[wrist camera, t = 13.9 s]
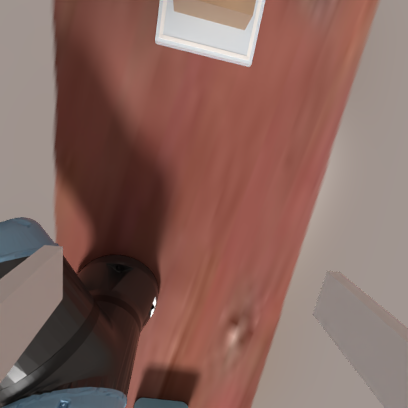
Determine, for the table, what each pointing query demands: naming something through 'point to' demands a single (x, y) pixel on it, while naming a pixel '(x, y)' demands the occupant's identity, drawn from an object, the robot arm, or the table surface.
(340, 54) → the table surface
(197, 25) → the white tray
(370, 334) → the robot arm
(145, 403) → the data package
